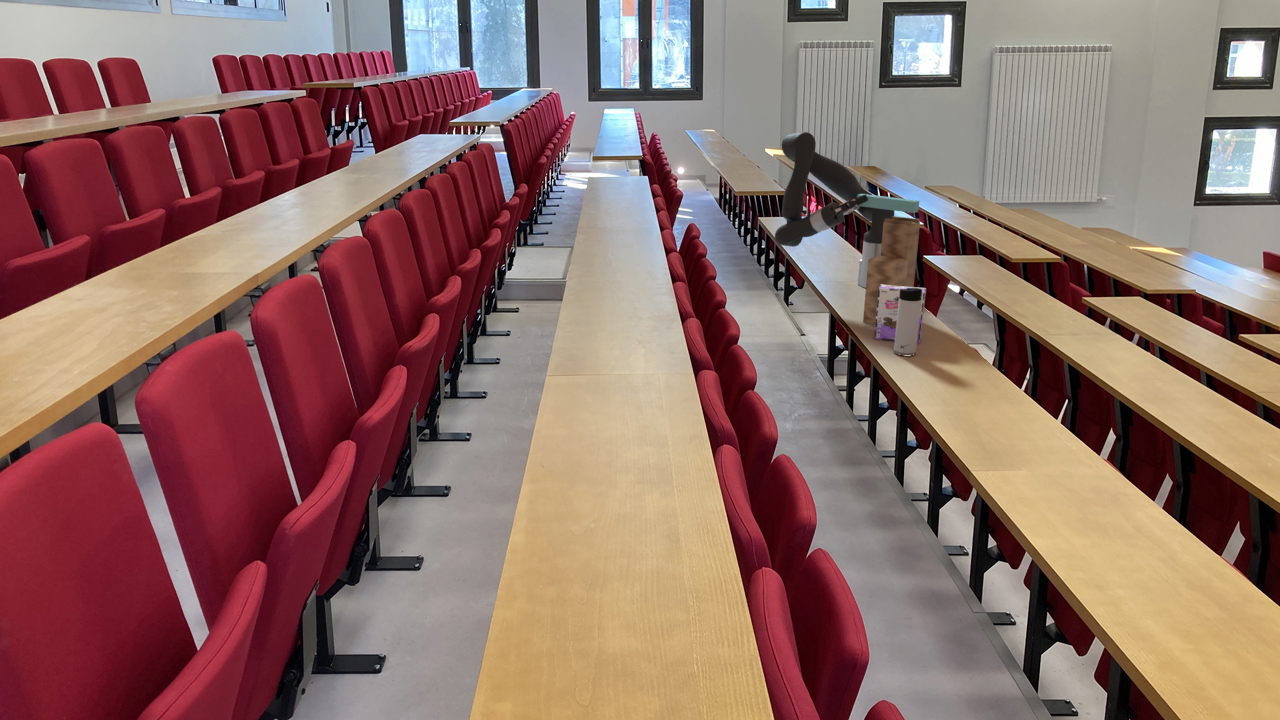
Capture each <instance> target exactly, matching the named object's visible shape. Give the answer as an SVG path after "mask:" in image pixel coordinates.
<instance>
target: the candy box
mask: <svg viewBox="0 0 1280 720" xmlns="http://www.w3.org/2000/svg"><path fill="white" fill-rule="evenodd" d="M907 288H919V289H922V296H921V308H920V318H919V327H918V337H917V344H918V343H919V344H920V343H921V340H922V338H921V337H922V328H923V319H924V309H925V301H926V294H927V288H926V287H915V286H914V287H906V286H894V285H884V284H880V287H879V291H878V301H877V309H876V319H875V324H874V333H873V339H874V340H881V341H882V340H883V341H892V342H895V334H896V323H897V313H898V303H899V295H900V289H907ZM920 339H921V340H920Z"/></svg>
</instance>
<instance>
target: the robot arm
mask: <svg viewBox="0 0 1280 720" xmlns="http://www.w3.org/2000/svg"><path fill="white" fill-rule="evenodd" d="M816 145H817V143H816V138H815V137H814V135H813V134H812V133H810V132H808V131H803V132H800V131H799V132H793V133H790V134H788V135H786V136H784V137H783V138H782V141H781V150H782V153H783V154H784V156H785V157H786V158H787V159H788V160H790V161H791V162H793V163H794V167H793V171H792V174H791V176H790V179H789V181H788V183H787V185H786V188H785V190H784V195H783V199H782V205H781V206H782V207H781V216H782V217H783V218H784V220H785V221H786V223H785V224H782V225H781V226H780V227H778V228H777V229H776V231H775V233H774V239H775V242H776V243H777V244H778V245H781V246H784V247H790V248H791V247H793V248H794V247H798V246H799V245H800V244H801V242H802V241H803V239H804V238H809V237H813V236H815V235H817V234H818V233H822V232H824V231H827V230H829V229H831V228H834V227H836V226H837V225H840V224H841V223H843V222H844V220H845V215H849V214H851V213H852V212H853V211H855V210H856V211H857V212H858V213H859V214H860V215H862V216H861V217H863V218H864V219H865V220H867V221H868V222H870V229H869V230H868V231H866V232H865V233H864V234H863V242H862V244H863V245H862V254H861V255H862V256H861V259H860V260H859V263H858V264H859V265H858V277H857V285H858V286H859V287H862V288H865V289H866V281H867V270H868V259H871V258H873V257H876V256H879V255H880V256H881V245H882V234H883V222H884V219H886V218H887V219H892V216H895V211H894V210H887V209H879V208H871V207H864V206H858V205H860V204H862V203H864V202H866V201H868V198H867V195H863V196H861V197H859V198H857V195H859V194H868V195H873V194H872V192H868V191H867V190H866V189H865V188H863V186H862V185H861V184H860V182H859V181H858V179H857V177H856V176H855V175H854V174H853V173H852V172H851V171H850V170H849V169H847V168H846V167H845V166H844V165H843V164H841V163H839V162H838V161H836V160H834V159H832V158H829V157H826V156H824V155H822V154H820V153H818V152H817V151H816V147H817V146H816ZM809 174H811V175H812V176H813V177H814V178H816V180H818V181H819V182H820V183H822V184H823V185H824V186H826V187H827V188H828V189H829V190H830V191H831V192H832V193H834V194H835V195H837V196H838V197H840V198H841V199H842V200H844V202H842V203H839V204H838V203H837V202H834V201H833V202H830V203H829V204H828V203H827V205H824V206H823V207H820V208H818V209H817V210H815V211H814V212H812V213H811V214H808V215H806V216H805V217H803V216H802V213H803V205H804V197H805V190H806V185H807V183H808V178H809Z"/></svg>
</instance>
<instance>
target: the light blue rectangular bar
mask: <svg viewBox="0 0 1280 720" xmlns="http://www.w3.org/2000/svg"><path fill="white" fill-rule="evenodd" d="M863 195H867V198H868V201H866V202H864V203H862V204H860V205H858V206H864V207H871V208H879V209H887V210H894V212H895V211H896V212H901V213H902V212H905V213H911V214H915V213H918V212H919V207H920V200H918V199H917V200H915V199H910V198H909V199H908V198H899V197H893V196H884V195H875V194H872V195H868V194H859V195H857V198H859V197H861V196H863Z"/></svg>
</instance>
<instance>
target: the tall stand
mask: <svg viewBox="0 0 1280 720" xmlns="http://www.w3.org/2000/svg"><path fill="white" fill-rule="evenodd" d="M920 220H921V219H920V218H913V217H906V216H905V217H904V216H895V215H894V216H892V219H887V218H886V219H884V222H883V234H882V245H881V256H887V257H894V258H901V259H908V267H907V277H906V287H915V285H914V284H915V278H916V265H917V257H918V245H919V239H920V238H919V235H920V228H921V227H920V225H921V222H920Z"/></svg>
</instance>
